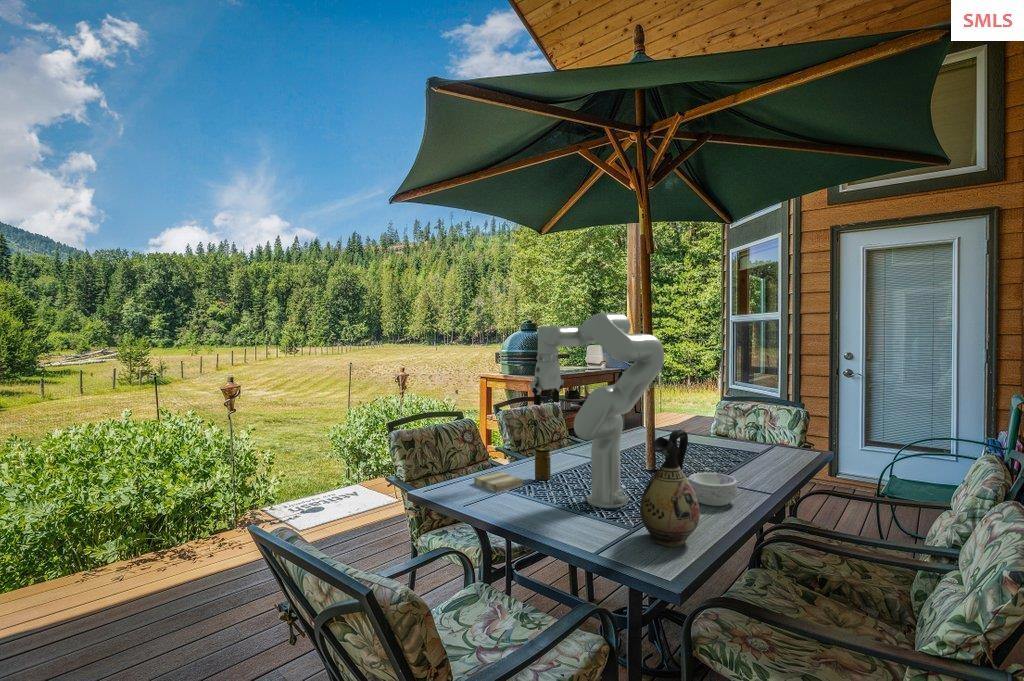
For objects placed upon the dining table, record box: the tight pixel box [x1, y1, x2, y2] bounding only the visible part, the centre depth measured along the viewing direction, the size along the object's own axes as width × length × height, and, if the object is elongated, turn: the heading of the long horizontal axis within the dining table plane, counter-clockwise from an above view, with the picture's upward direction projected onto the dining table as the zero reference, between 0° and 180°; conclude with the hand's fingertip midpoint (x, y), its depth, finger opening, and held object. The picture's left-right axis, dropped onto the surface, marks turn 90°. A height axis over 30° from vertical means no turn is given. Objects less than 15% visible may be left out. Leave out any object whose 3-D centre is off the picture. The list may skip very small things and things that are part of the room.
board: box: [473, 471, 524, 493], centre depth 186 cm, size 14×12×2 cm
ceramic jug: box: [639, 429, 700, 548], centre depth 136 cm, size 17×15×30 cm
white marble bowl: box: [687, 472, 739, 507], centre depth 166 cm, size 15×15×8 cm
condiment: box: [534, 447, 552, 485], centre depth 192 cm, size 7×8×12 cm
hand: (546, 403), depth 189 cm, fingers open, 9 cm apart
